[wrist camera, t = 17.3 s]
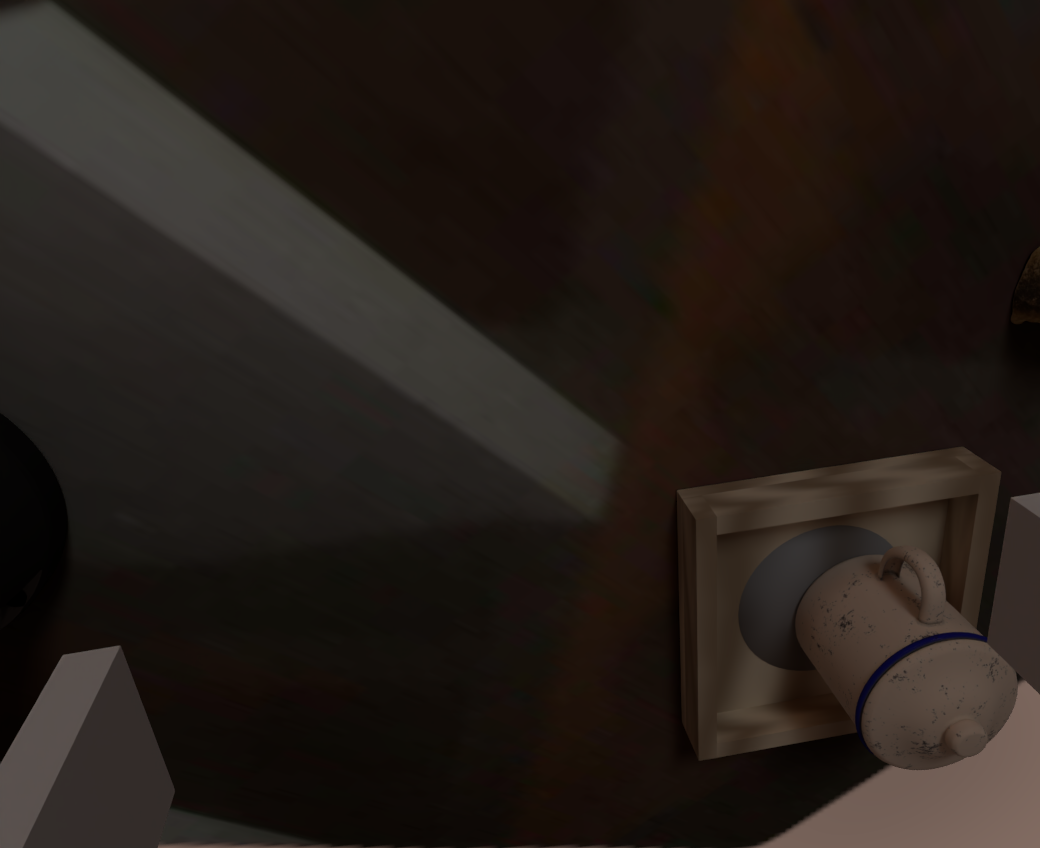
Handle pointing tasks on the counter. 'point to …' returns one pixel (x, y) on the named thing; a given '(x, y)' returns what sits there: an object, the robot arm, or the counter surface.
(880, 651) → the teacup with lid
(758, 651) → the housing tray
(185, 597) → the counter surface
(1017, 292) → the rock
